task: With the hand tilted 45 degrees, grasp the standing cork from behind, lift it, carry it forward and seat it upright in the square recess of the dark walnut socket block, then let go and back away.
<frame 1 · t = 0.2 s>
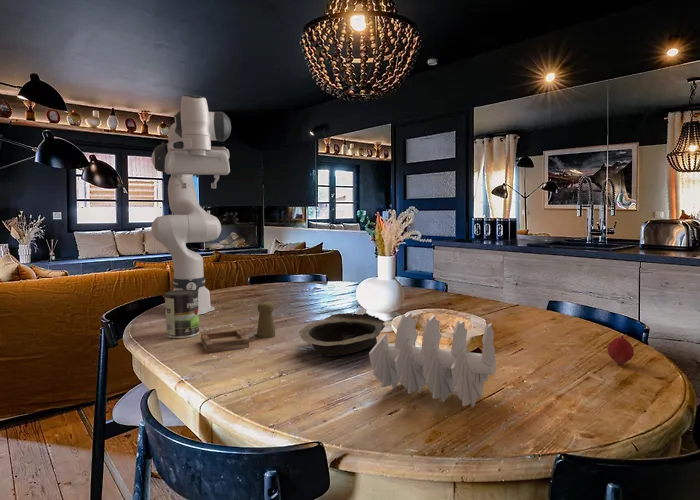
hand: (199, 188, 147), 48 cm above the table, tool pointing down, fingers open, 8 cm apart
walnut socket block: (224, 344, 136), on the table
stone bowl: (342, 352, 129), on the table
cork: (266, 336, 145), on the table
onion: (619, 365, 117), on the table
coffee can: (183, 334, 147), on the table
spiral staircase: (434, 396, 98), on the table
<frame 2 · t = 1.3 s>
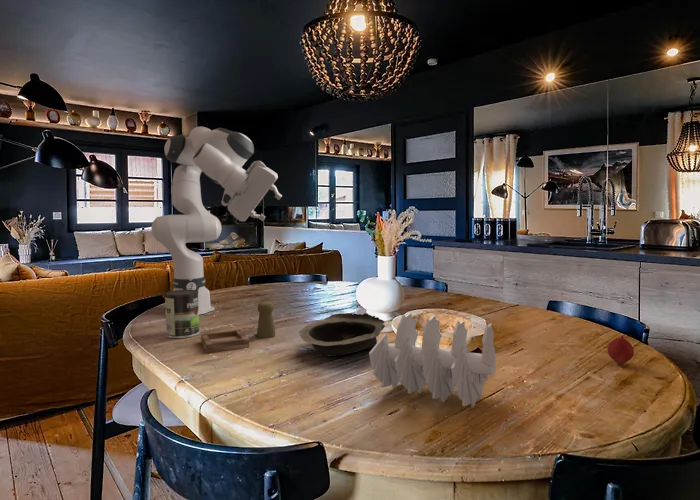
hand: (272, 208, 149), 41 cm above the table, tool tilted 50°, fingers open, 8 cm apart
nothing on the table moved.
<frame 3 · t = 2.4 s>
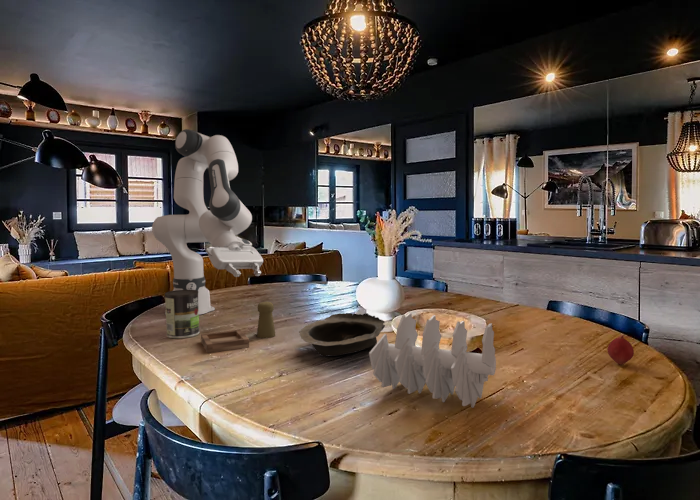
hand: (248, 275, 150), 19 cm above the table, tool tilted 50°, fingers open, 8 cm apart
nothing on the table moved.
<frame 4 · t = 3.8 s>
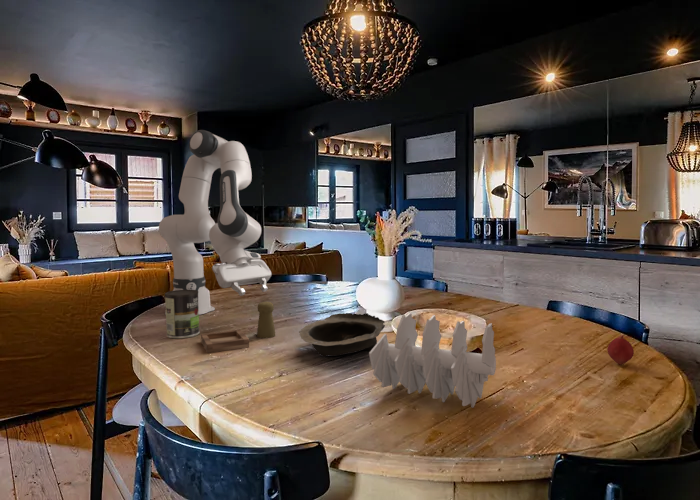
hand: (254, 292, 151), 13 cm above the table, tool tilted 45°, fingers open, 8 cm apart
nothing on the table moved.
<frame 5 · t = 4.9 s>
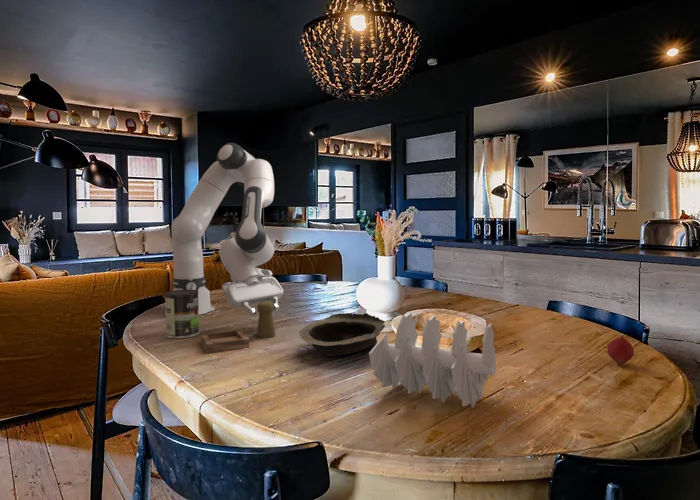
hand: (265, 311, 146), 8 cm above the table, tool tilted 45°, fingers open, 8 cm apart
nothing on the table moved.
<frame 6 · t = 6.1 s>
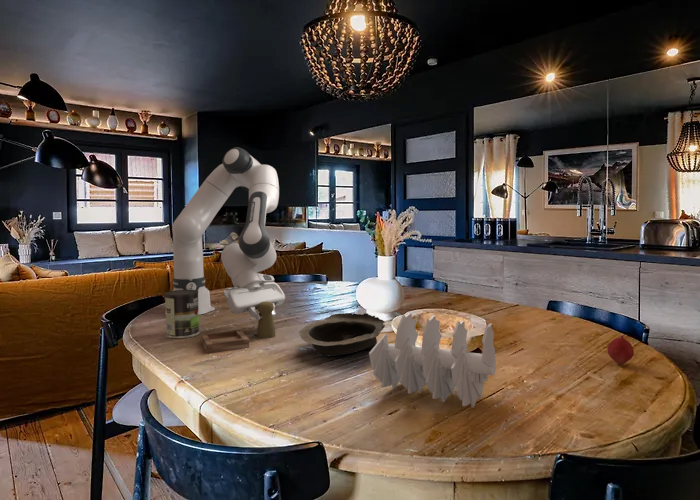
hand: (267, 318, 144), 6 cm above the table, tool tilted 45°, fingers closed on cork, 4 cm apart
cork: (266, 336, 145), on the table, touching gripper
everything else where it was.
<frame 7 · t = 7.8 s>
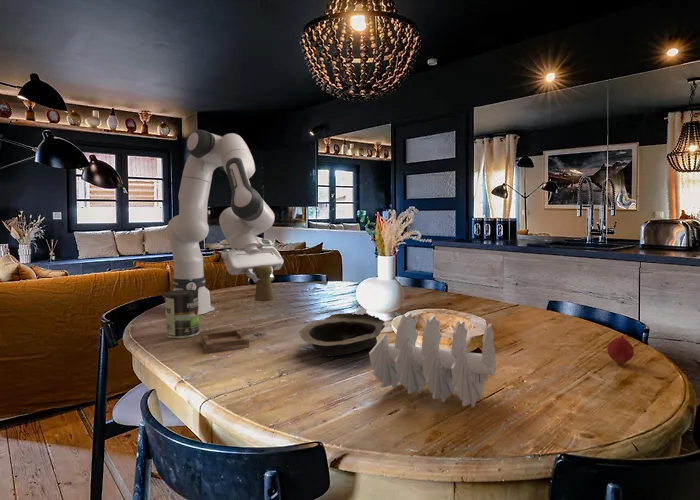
hand: (264, 280, 143), 18 cm above the table, tool tilted 45°, fingers closed on cork, 4 cm apart
cork: (264, 300, 144), point 12 cm above the table, touching gripper
everything else where it was.
when the fingers open (8 cm above the table, at t = 11.1 s): cork drops 1 cm, resting on walnut socket block.
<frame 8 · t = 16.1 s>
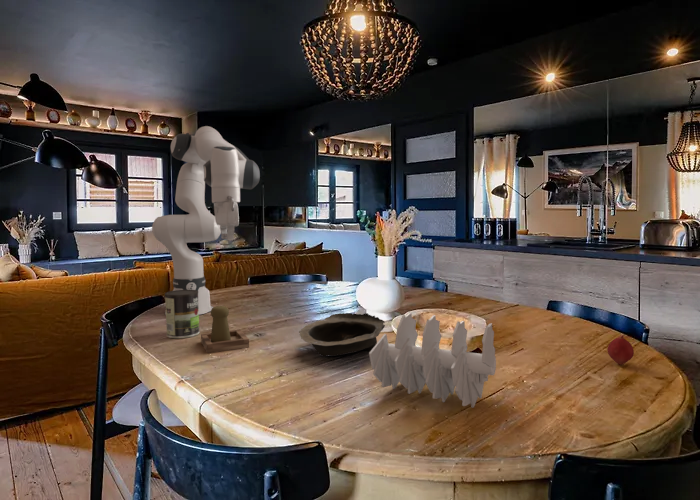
hand: (227, 239, 145), 31 cm above the table, tool pointing down, fingers open, 8 cm apart
cork: (220, 343, 134), point 1 cm above the table, touching walnut socket block
everything else where it was.
at the end: cork 1.3 cm off-centre on the walnut socket block, point 0.8 cm above the walnut socket block's base; cork tilted 0°; the gripper is holding nothing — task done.
